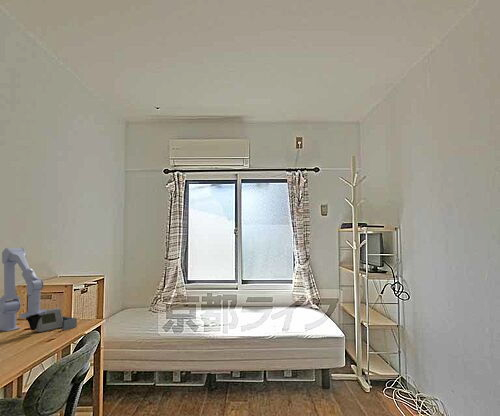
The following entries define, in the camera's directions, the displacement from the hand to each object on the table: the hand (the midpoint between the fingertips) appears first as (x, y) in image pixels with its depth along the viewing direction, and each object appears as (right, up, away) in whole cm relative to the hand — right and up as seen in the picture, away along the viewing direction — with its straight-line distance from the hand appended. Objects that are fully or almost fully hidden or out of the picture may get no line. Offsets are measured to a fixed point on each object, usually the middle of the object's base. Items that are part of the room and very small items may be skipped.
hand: (33, 330), depth 219 cm
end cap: (+7, -3, +16) cm, 18 cm away
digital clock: (+3, -3, +12) cm, 12 cm away
